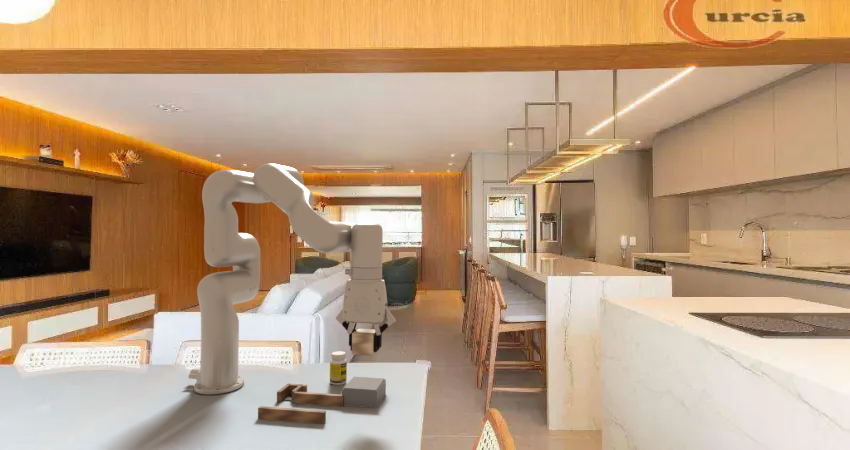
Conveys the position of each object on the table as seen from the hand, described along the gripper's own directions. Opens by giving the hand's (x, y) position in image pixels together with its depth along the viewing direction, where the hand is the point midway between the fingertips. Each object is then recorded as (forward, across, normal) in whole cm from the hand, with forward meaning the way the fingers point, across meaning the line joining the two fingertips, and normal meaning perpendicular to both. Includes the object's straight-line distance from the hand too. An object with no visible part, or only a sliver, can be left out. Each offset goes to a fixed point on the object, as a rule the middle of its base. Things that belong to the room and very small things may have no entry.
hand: (365, 349), depth 105 cm
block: (+1, 0, 0) cm, 1 cm away
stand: (+15, -2, +7) cm, 17 cm away
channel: (+15, -15, 0) cm, 21 cm away
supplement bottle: (+15, -13, +18) cm, 27 cm away
